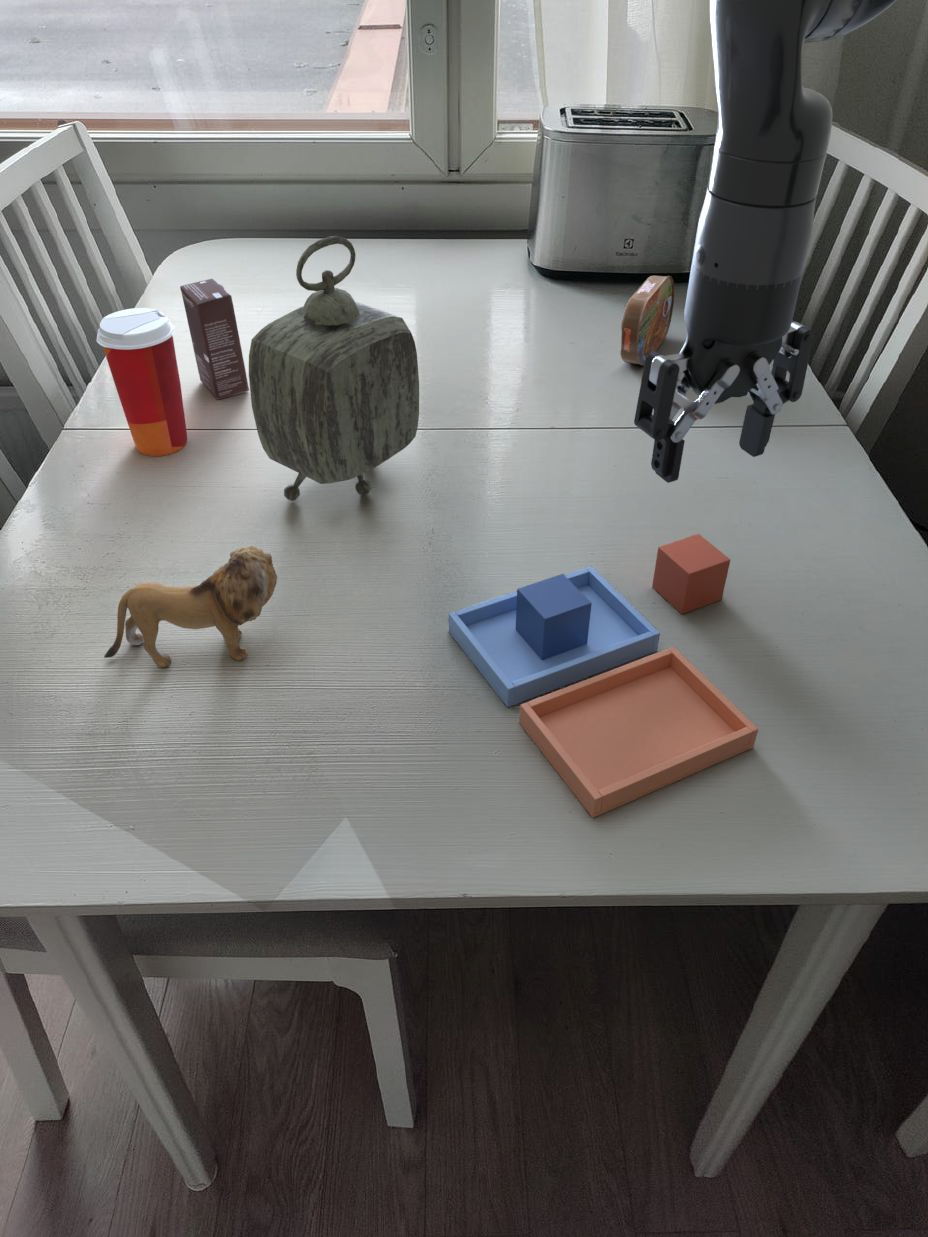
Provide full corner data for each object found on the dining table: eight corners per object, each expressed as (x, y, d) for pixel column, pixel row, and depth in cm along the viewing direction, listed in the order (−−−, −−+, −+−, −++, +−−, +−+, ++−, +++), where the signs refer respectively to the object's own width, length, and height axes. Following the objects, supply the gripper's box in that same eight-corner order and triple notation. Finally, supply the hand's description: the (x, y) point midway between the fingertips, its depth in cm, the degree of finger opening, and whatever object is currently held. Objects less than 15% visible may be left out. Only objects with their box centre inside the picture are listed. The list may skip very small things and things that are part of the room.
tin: (636, 376, 118) (644, 309, 112) (612, 371, 119) (619, 305, 113) (672, 330, 128) (681, 267, 123) (649, 326, 129) (657, 263, 124)
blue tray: (589, 583, 86) (591, 566, 85) (657, 651, 79) (660, 633, 78) (448, 631, 81) (448, 613, 80) (507, 707, 74) (508, 689, 73)
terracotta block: (691, 572, 87) (698, 533, 84) (722, 599, 84) (730, 559, 81) (651, 586, 86) (657, 546, 83) (681, 614, 83) (689, 574, 80)
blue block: (559, 613, 82) (562, 573, 79) (587, 644, 79) (592, 602, 76) (515, 629, 81) (516, 588, 78) (541, 660, 78) (544, 619, 75)
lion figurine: (283, 614, 83) (269, 528, 77) (289, 654, 79) (275, 567, 73) (106, 642, 80) (78, 555, 74) (104, 685, 76) (74, 597, 70)
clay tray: (670, 664, 78) (673, 646, 77) (753, 747, 71) (759, 728, 70) (519, 722, 73) (519, 704, 72) (592, 818, 66) (595, 799, 65)
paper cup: (179, 419, 110) (152, 299, 101) (209, 445, 105) (185, 322, 96) (113, 440, 106) (80, 318, 97) (142, 469, 101) (110, 343, 92)
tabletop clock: (367, 445, 105) (349, 208, 89) (429, 473, 100) (422, 229, 84) (266, 502, 96) (227, 250, 80) (329, 535, 92) (301, 276, 76)
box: (197, 382, 117) (178, 284, 109) (232, 373, 119) (216, 276, 111) (214, 401, 113) (195, 302, 105) (250, 392, 115) (234, 293, 107)
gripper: (699, 297, 61) (664, 510, 71) (865, 260, 66) (809, 464, 76) (631, 259, 66) (608, 464, 76) (789, 227, 71) (747, 423, 81)
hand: (708, 464), depth 76 cm, fingers open, 8 cm apart
